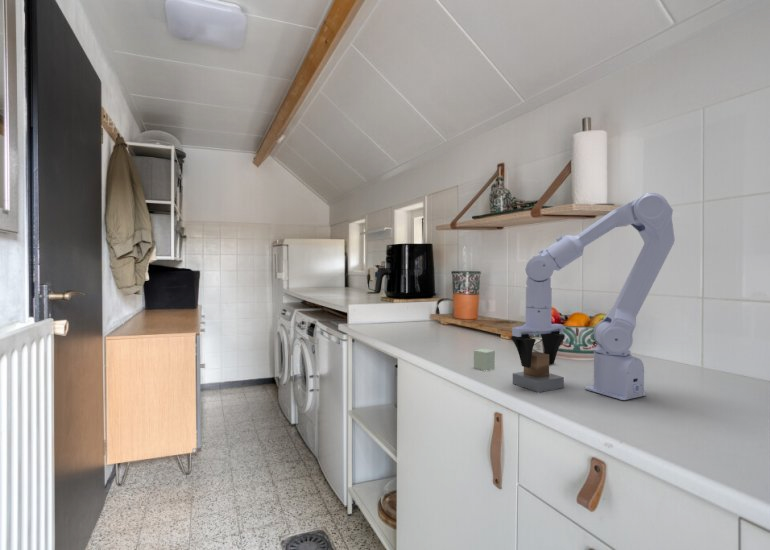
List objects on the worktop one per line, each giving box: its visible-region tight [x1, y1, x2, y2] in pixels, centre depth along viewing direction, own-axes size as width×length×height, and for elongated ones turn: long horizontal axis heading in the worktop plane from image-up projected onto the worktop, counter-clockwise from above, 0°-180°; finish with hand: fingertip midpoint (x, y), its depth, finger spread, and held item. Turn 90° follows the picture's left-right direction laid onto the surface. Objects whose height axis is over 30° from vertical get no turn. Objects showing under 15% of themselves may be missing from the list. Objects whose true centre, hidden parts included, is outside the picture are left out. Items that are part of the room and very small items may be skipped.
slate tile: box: [512, 371, 565, 393], centre depth 100 cm, size 8×8×2 cm
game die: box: [529, 335, 544, 353], centre depth 124 cm, size 9×8×10 cm
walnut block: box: [523, 351, 550, 378], centre depth 101 cm, size 4×4×5 cm
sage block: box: [473, 348, 496, 372], centre depth 117 cm, size 4×4×5 cm
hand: (537, 365), depth 100 cm, fingers open, 7 cm apart
